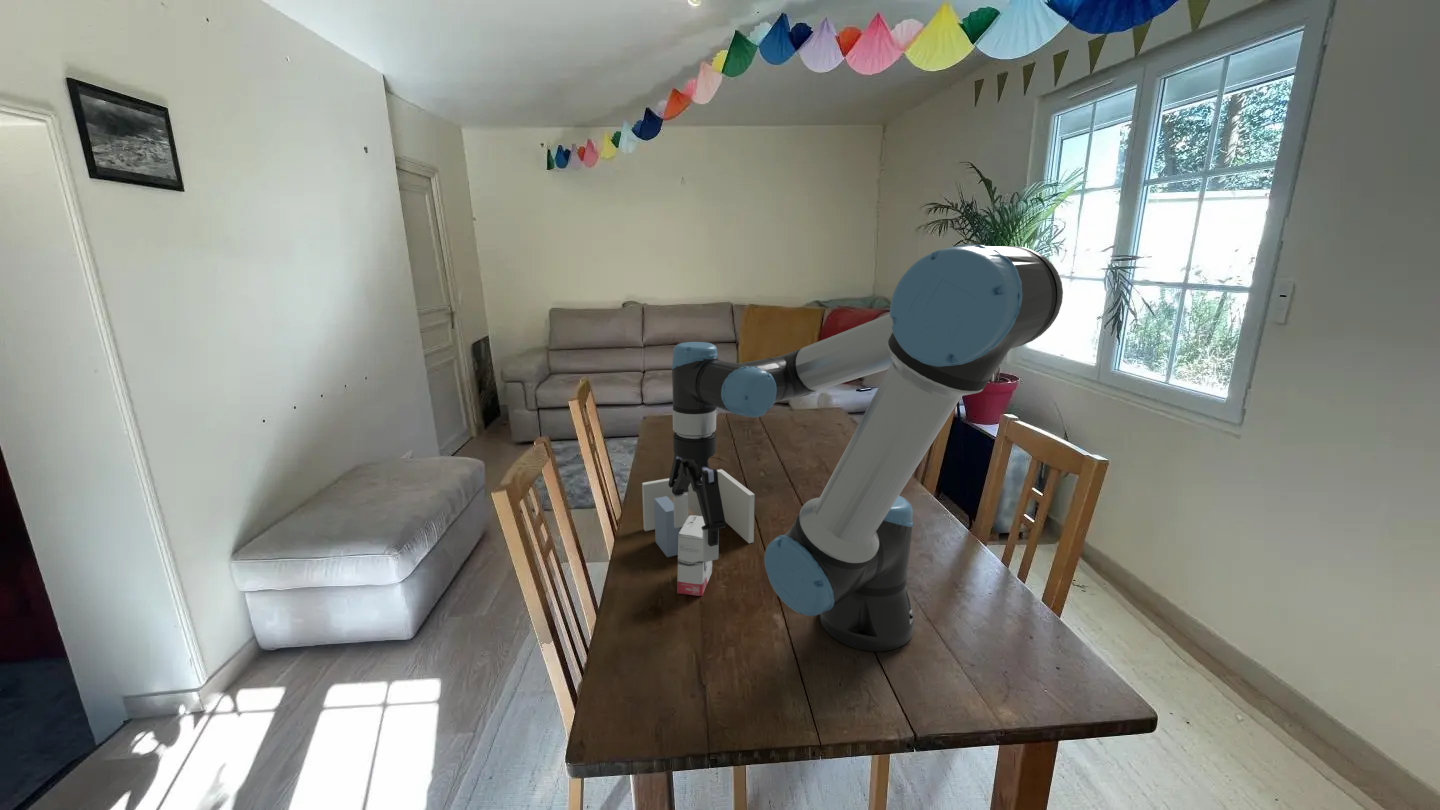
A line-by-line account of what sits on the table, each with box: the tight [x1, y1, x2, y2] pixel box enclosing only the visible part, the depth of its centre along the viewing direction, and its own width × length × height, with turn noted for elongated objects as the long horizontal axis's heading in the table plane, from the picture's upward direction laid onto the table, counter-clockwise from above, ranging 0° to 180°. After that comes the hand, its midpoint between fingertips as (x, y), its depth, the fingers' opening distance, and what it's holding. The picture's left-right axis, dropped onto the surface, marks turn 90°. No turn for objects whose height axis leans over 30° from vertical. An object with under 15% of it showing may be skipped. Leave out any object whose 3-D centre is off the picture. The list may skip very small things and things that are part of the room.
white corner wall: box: [641, 468, 756, 558], centre depth 125 cm, size 16×19×11 cm
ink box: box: [676, 515, 713, 597], centre depth 108 cm, size 9×5×12 cm, turn 168°
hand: (695, 542), depth 107 cm, fingers open, 13 cm apart
